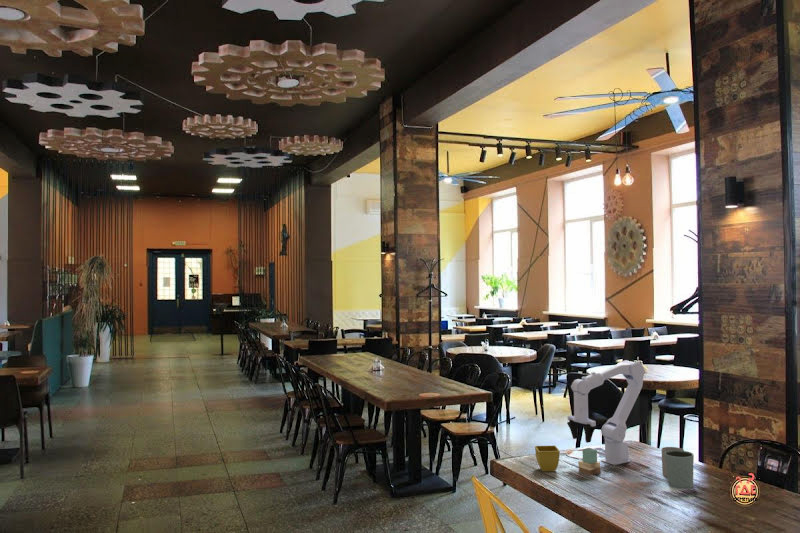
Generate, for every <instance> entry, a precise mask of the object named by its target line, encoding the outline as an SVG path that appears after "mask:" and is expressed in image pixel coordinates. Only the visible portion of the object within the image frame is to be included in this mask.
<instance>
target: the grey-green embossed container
mask: <svg viewBox="0 0 800 533" xmlns="http://www.w3.org/2000/svg"><path fill="white" fill-rule="evenodd" d="M694 455H695V454H694V453H693V452H690V451H687V450H684V451H681V450H671V451H666V452H665V460H666V467H667V474H668V477H667V482H668V485H669V486H670V487H671V488H675V489H679V490H687V489H692V488H694V461H695V460H694V459H695V456H694Z"/></svg>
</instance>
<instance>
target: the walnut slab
mask: <svg viewBox="0 0 800 533" xmlns="http://www.w3.org/2000/svg"><path fill="white" fill-rule="evenodd" d="M601 468H602V467H600V468H597V469H593V470H587V469H584V468H580V467H578V472H579V473H582V474H585V475H588V476H593V475H598V474H600V473H601ZM601 474H602V473H601Z"/></svg>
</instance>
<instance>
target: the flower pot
mask: <svg viewBox="0 0 800 533" xmlns="http://www.w3.org/2000/svg"><path fill="white" fill-rule="evenodd" d="M534 449H535V458H536V463H537V464H538V466H539V468H540V470H541V471H542V472H556V470H557V469H558V465H559V462H560V453H561V452H560V449H559V448H558V447H557V446H556V445H535V446H534Z"/></svg>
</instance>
